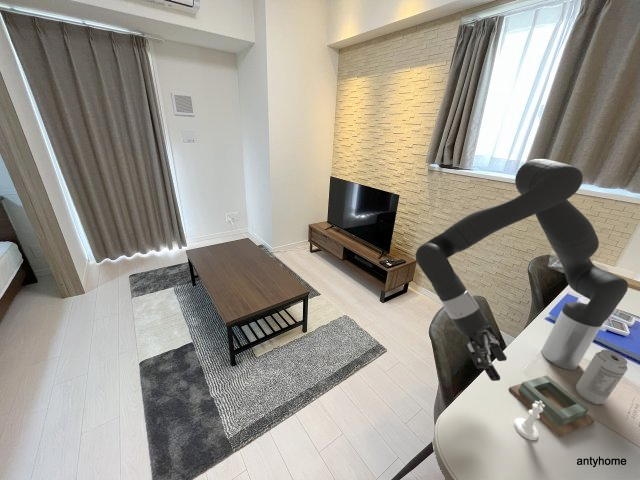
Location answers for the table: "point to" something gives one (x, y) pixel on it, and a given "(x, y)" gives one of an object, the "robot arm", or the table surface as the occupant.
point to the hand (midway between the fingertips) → (499, 369)
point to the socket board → (554, 404)
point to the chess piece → (529, 422)
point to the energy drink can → (601, 376)
